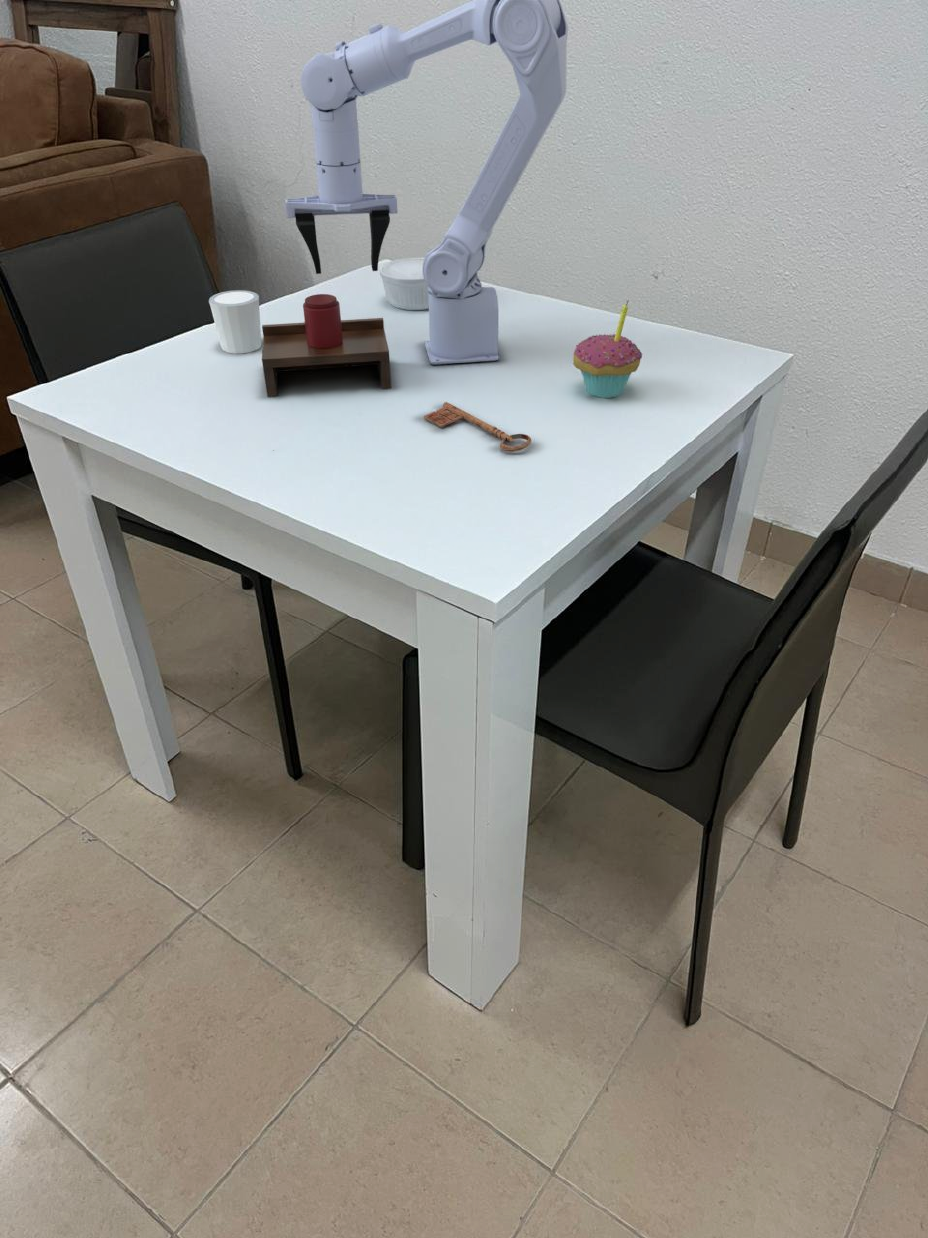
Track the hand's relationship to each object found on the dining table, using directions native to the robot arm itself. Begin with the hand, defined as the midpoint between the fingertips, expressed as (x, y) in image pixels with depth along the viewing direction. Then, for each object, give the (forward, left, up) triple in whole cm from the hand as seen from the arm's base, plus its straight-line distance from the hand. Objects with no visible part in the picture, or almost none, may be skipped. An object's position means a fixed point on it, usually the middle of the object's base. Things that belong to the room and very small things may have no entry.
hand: (346, 270), depth 126 cm
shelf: (+4, +12, -10) cm, 16 cm away
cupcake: (-31, +22, -11) cm, 40 cm away
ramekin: (-11, -17, -11) cm, 23 cm away
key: (-13, +31, -11) cm, 35 cm away
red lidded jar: (+4, +12, -5) cm, 14 cm away
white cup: (+16, -2, -11) cm, 19 cm away
